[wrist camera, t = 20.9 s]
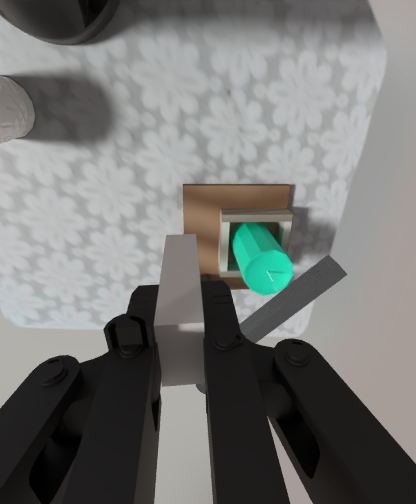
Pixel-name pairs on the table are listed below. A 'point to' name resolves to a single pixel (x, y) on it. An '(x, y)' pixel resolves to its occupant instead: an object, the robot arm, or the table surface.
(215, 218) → the board
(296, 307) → the bar
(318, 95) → the table surface
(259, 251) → the candle
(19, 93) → the white cup
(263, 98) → the table surface
